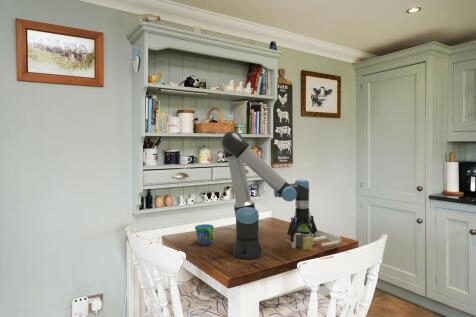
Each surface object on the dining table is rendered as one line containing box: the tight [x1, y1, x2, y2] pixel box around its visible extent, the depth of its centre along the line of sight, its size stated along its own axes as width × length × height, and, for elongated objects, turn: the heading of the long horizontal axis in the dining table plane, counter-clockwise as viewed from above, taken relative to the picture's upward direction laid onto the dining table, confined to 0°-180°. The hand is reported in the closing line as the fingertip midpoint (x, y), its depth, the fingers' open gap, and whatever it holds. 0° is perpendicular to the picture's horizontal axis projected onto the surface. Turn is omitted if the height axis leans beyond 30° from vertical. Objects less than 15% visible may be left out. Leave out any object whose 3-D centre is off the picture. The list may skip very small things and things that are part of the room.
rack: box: [286, 228, 342, 247], centre depth 195 cm, size 14×35×4 cm, turn 26°
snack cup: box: [194, 223, 215, 246], centre depth 184 cm, size 16×10×10 cm
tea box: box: [293, 210, 311, 237], centre depth 198 cm, size 15×10×15 cm, turn 167°
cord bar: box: [294, 233, 313, 250], centre depth 177 cm, size 4×11×6 cm, turn 26°
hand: (302, 246), depth 177 cm, fingers open, 12 cm apart
